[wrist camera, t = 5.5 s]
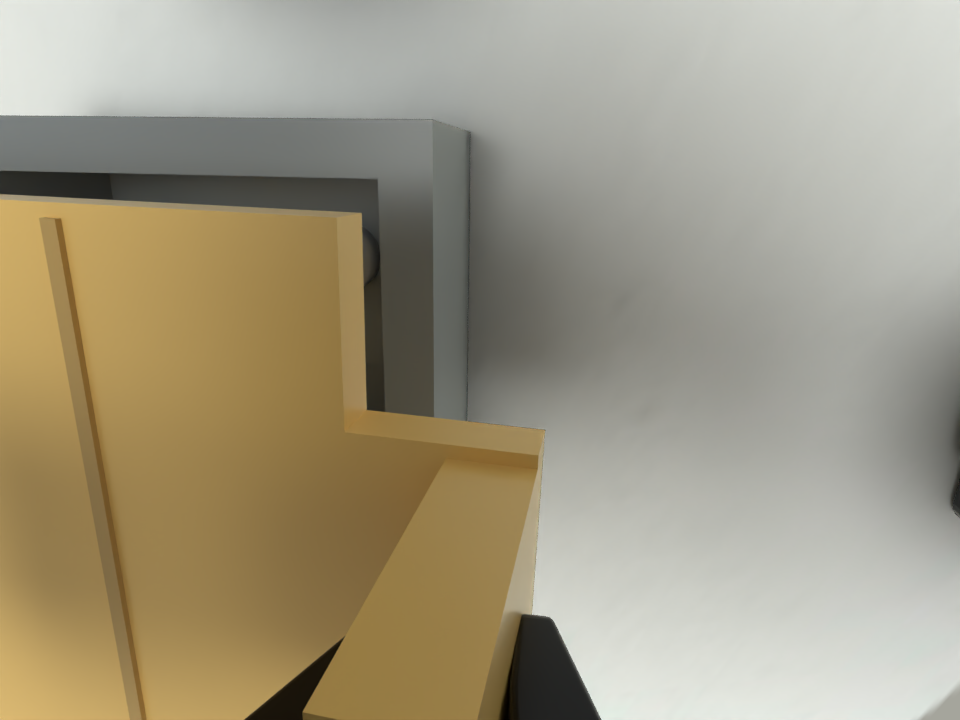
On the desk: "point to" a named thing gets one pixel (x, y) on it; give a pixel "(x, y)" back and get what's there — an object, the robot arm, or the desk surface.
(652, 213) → the desk surface
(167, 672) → the snap lid
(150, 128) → the parts tub
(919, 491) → the desk surface
